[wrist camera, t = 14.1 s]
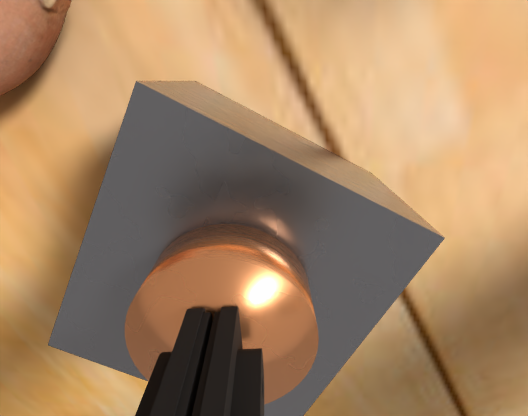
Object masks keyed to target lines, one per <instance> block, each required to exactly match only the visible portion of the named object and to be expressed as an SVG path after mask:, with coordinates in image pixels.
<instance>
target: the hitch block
mask: <svg viewBox="0 0 528 416" xmlns="http://www.w3.org/2000/svg"><path fill="white" fill-rule="evenodd" d="M214 224H238V225H245V226H249V227H253V228H256V229H259V230H261V231H264V232H266V233H268V234H270V235H272V236H274V237H276V238H277V239H278V240H280V241H281V242H283V243H284V244H285V245H286V246H287V247H288V248H289V249H291V250H292V252H293V253H294V254H295V255H296V256H297V258H298V259H299V261H300V262H301V264H302V266H303V268H304V270H305V273H306V275H307V279H308V283H309V288H310V292H311V297H312V302H313V307H314V312H315V317H316V322H317V327H318V336H319V342H318V350H317V354H316V358H315V360H314V363H313V365H312V367H311V369H310V370H309V372H308V374H307V375H306V376H305V378H304V379H303V380H302V381H301V382H300V383H299V384H298V385H297V386H296V387H295V388H294V389H293V390H291V391H290V392H288V393H287V394H285V395H284V396H282V397H280V398H278V399H277V400H275V401H272V402H270V403H267V404H265V405H264V416H304V414H305V413H306V412H307V410H308V409H309V408H310V407H311V405H312V404H313V403H314V402H315V400H316V399H317V398H318V397H319V395H320V394H321V393H322V392H323V390H324V389H325V388H326V387H327V385H328V384H329V383H330V382H331V380H332V379H333V378H334V377H335V375H336V374H337V373H338V372H339V370H340V369H341V368H342V367H343V365H344V364H345V363H346V362H347V360H348V359H349V358H350V356H351V355H352V354H353V353H354V351H355V350H356V349H357V348H358V346H359V345H360V344H361V343H362V341H363V340H364V339H365V338H366V336H367V335H368V334H369V333H370V331H371V330H372V329H373V328H374V326H375V325H376V324H377V323H378V321H379V320H380V319H381V318H382V316H383V315H384V314H385V313H386V311H387V310H388V309H389V308H390V306H391V305H392V304H393V302H394V301H395V300H396V299H397V297H398V296H399V295H400V294H401V292H402V291H403V290H404V289H405V287H406V286H407V285H408V284H409V282H410V281H411V280H412V279H413V277H414V276H415V275H416V274H417V272H418V271H419V270H420V269H421V267H422V266H423V265H424V264H425V262H426V261H427V260H428V259H429V257H430V256H431V255H432V253H433V252H434V251H435V250H436V248H437V247H438V246H439V245H440V243H441V242H442V241H443V240H444V237H443V236H442V235H441V234H440V233H439V232H438V231H437V230H435V229H434V228H433V227H432V226H431V225H430V224H429V223H427V222H426V221H425V220H424V219H423V218H422V217H421V216H420V215H418V214H417V213H416V212H415V211H414V210H413V209H412V208H410V207H409V206H408V205H407V204H406V203H405V202H404V201H403V200H401V199H400V198H399V197H398V196H397V195H396V194H395V193H393V192H392V191H391V190H390V189H389V188H388V187H387V186H386V185H384V184H383V183H382V182H381V181H380V180H379V179H378V178H376V177H375V176H374V175H373V174H372V173H370V172H368V171H366V170H364V169H362V168H360V167H359V166H357V165H355V164H353V163H351V162H349V161H347V160H345V159H343V158H341V157H339V156H338V155H336V154H334V153H332V152H330V151H328V150H326V149H324V148H322V147H320V146H318V145H317V144H315V143H313V142H311V141H309V140H307V139H305V138H303V137H301V136H299V135H297V134H296V133H294V132H292V131H290V130H288V129H286V128H284V127H282V126H280V125H278V124H276V123H275V122H273V121H271V120H269V119H267V118H265V117H263V116H261V115H259V114H257V113H256V112H254V111H252V110H250V109H248V108H246V107H244V106H242V105H240V104H238V103H236V102H235V101H233V100H231V99H229V98H227V97H225V96H223V95H221V94H219V93H217V92H215V91H214V90H212V89H210V88H208V87H206V86H204V85H202V84H200V83H198V82H196V81H136V83H135V86H134V89H133V92H132V95H131V98H130V101H129V104H128V107H127V110H126V113H125V116H124V119H123V122H122V125H121V128H120V131H119V134H118V137H117V140H116V143H115V146H114V149H113V152H112V155H111V158H110V161H109V164H108V167H107V170H106V173H105V176H104V179H103V182H102V185H101V188H100V191H99V194H98V197H97V200H96V203H95V206H94V209H93V212H92V215H91V218H90V221H89V224H88V227H87V230H86V233H85V236H84V238H83V241H82V244H81V247H80V250H79V253H78V256H77V259H76V262H75V265H74V268H73V271H72V274H71V277H70V280H69V283H68V286H67V289H66V292H65V295H64V298H63V301H62V304H61V307H60V310H59V313H58V316H57V319H56V322H55V325H54V328H53V331H52V334H51V337H50V340H49V343H48V345H49V346H51V347H54V348H57V349H60V350H63V351H65V352H68V353H71V354H74V355H76V356H79V357H82V358H85V359H88V360H90V361H93V362H96V363H99V364H102V365H104V366H107V367H110V368H113V369H116V370H118V371H121V372H124V373H127V374H129V375H132V376H135V377H138V378H141V379H143V380H146V381H148V380H147V379H146V378H145V377H144V376H143V375H142V374H141V373H140V371H139V370H138V368H137V367H136V366H135V364H134V362H133V360H132V358H131V357H130V354H129V351H128V349H127V346H126V340H125V320H126V315H127V312H128V309H129V306H130V304H131V302H132V300H133V299H134V297H135V295H136V293H137V292H138V290H139V289H140V287H141V285H142V284H143V282H144V281H145V279H146V277H147V276H148V274H149V273H150V271H151V269H152V268H153V266H154V264H155V263H156V261H157V260H158V258H159V256H160V255H161V254H162V252H163V251H164V250H165V249H166V248H167V247H168V246H169V245H170V244H171V243H172V242H173V241H174V240H176V239H177V238H179V237H180V236H182V235H184V234H185V233H187V232H189V231H192V230H194V229H197V228H200V227H204V226H208V225H214Z"/></svg>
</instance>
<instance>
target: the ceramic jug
mask: <svg viewBox="0 0 528 416" xmlns="http://www.w3.org/2000/svg"><path fill="white" fill-rule="evenodd" d="M70 3H71V0H0V95H3V94H5V93H7V92H8V91H10V90H12V89H14V88H15V87H17V86H19V85H20V84H22V83H23V82H24V81H26V80H27V79H28V78H29V77H30V76H31V75H33V74H34V73H35V72H36V71H37V70H38V69H39V67H40V66H41V65H42V64H43V62H44V61H45V60H46V58H47V57H48V55H49V54H50V52H51V50H52V49H53V47H54V45H55V43H56V41H57V38H58V36H59V34H60V31H61V28H62V26H63V23H64V20H65V16H66V13H67V10H68V8H69V7H70Z"/></svg>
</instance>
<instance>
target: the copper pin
mask: <svg viewBox="0 0 528 416" xmlns="http://www.w3.org/2000/svg"><path fill="white" fill-rule="evenodd" d="M236 306H238V307H239V317H240V327H241V337H242V346H243V349H256V348H262V353H263V366H264V405H265V404H267V403H270V402H272V401H275V400H277V399H278V398H280V397H282V396H284V395H285V394H287V393H288V392H290V391H291V390H293V389H294V388H295V387H296V386H297V385H298V384H299V383H300V382H301V381H302V380H303V379H304V378H305V376H306V375H307V374H308V372H309V370H310V369H311V367H312V365H313V363H314V360H315V358H316V354H317V350H318V342H319V336H318V327H317V322H316V317H315V312H314V307H313V302H312V297H311V292H310V288H309V283H308V279H307V275H306V273H305V270H304V268H303V266H302V264H301V262H300V261H299V259H298V258H297V256H296V255H295V254H294V253H293V252H292V250H291V249H289V248H288V247H287V246H286V245H285V244H284V243H283V242H281V241H280V240H278V239H277V238H276V237H274V236H272V235H270V234H268V233H266V232H264V231H261V230H259V229H256V228H253V227H249V226H245V225H238V224H214V225H208V226H204V227H200V228H197V229H194V230H192V231H189V232H187V233H185V234H184V235H182V236H180V237H179V238H177V239H176V240H174V241H173V242H172V243H171V244H170V245H169V246H168V247H167V248H166V249H165V250H164V251H163V252H162V254H161V255H160V256H159V258H158V260H157V261H156V263H155V264H154V266H153V268H152V269H151V271H150V273H149V274H148V276H147V277H146V279H145V281H144V282H143V284H142V285H141V287H140V289H139V290H138V292H137V293H136V295H135V297H134V299H133V300H132V302H131V304H130V306H129V309H128V312H127V315H126V320H125V340H126V346H127V349H128V351H129V354H130V357H131V358H132V360H133V362H134V364H135V366H136V367H137V368H138V370H139V371H140V373H141V374H142V375H143V376H144V377H145V378H146V379H147V380H148V381H149V379H150V377H151V374H152V372H153V369H154V366H155V364H156V361H157V359H158V357H159V355H160V354H161V353H162V352H172V350H173V348H174V345H175V342H176V339H177V336H178V333H179V330H180V327H181V325H182V322H183V319H184V316H185V313H186V311H187V309H189V308H205V311H206V312H211V314H212V320H213V318H214V314H215V312H220V311H221V308H222V307H236Z"/></svg>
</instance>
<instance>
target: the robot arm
mask: <svg viewBox="0 0 528 416" xmlns="http://www.w3.org/2000/svg"><path fill="white" fill-rule="evenodd" d="M135 416H264V366H263V353H262V348H256V349H243V346H242V337H241V327H240V317H239V307H238V306H236V307H222V308H221V311H220V312H215V314H214V318H213V320H212V314H211V312H206V311H205V308H189V309H187V311H186V313H185V316H184V319H183V322H182V325H181V327H180V330H179V333H178V336H177V339H176V342H175V345H174V348H173V350H172V352H162V353H161V354H160V355H159V357H158V359H157V361H156V364H155V366H154V369H153V372H152V374H151V377H150V379H149V382H148V384H147V387H146V389H145V392H144V394H143V397H142V400H141V402H140V405H139V407H138V410H137V412H136V415H135Z"/></svg>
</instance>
